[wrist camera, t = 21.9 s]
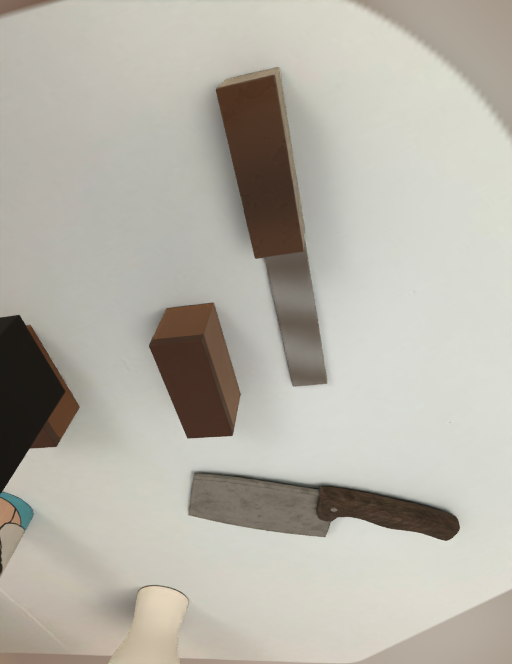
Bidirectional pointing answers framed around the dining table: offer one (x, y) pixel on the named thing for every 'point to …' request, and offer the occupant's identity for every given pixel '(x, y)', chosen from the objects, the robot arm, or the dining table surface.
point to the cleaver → (308, 507)
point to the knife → (274, 211)
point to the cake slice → (197, 370)
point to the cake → (55, 410)
